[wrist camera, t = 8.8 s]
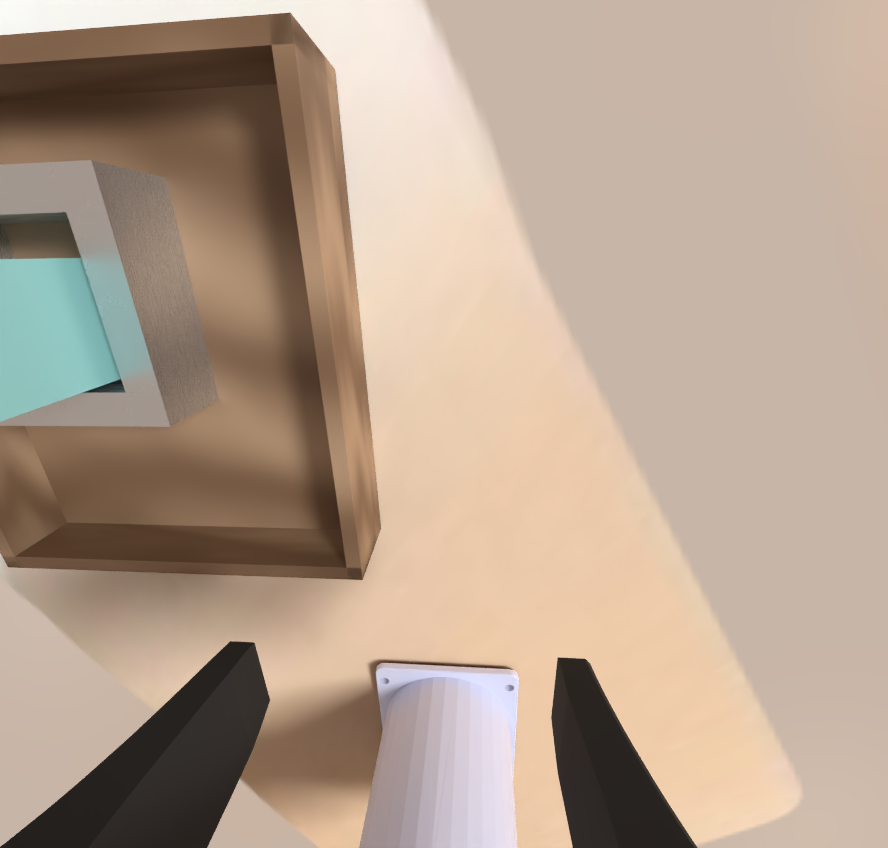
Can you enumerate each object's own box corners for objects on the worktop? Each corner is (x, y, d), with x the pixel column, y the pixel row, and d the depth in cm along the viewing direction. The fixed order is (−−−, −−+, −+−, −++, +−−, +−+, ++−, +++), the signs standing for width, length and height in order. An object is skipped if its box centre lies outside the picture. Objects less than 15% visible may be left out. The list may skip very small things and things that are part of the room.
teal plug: (164, 363, 17) (-29, 431, 11) (73, 364, 17) (-168, 431, 11) (134, 257, 15) (-114, 260, 9) (35, 261, 16) (-273, 267, 9)
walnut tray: (380, 528, 20) (362, 579, 17) (77, 520, 22) (8, 567, 19) (335, 69, 14) (290, 12, 10) (-102, 98, 15) (-262, 55, 12)
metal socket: (219, 398, 17) (170, 426, 15) (42, 398, 18) (-37, 425, 15) (166, 178, 14) (91, 160, 12) (-45, 187, 15) (-163, 172, 12)
